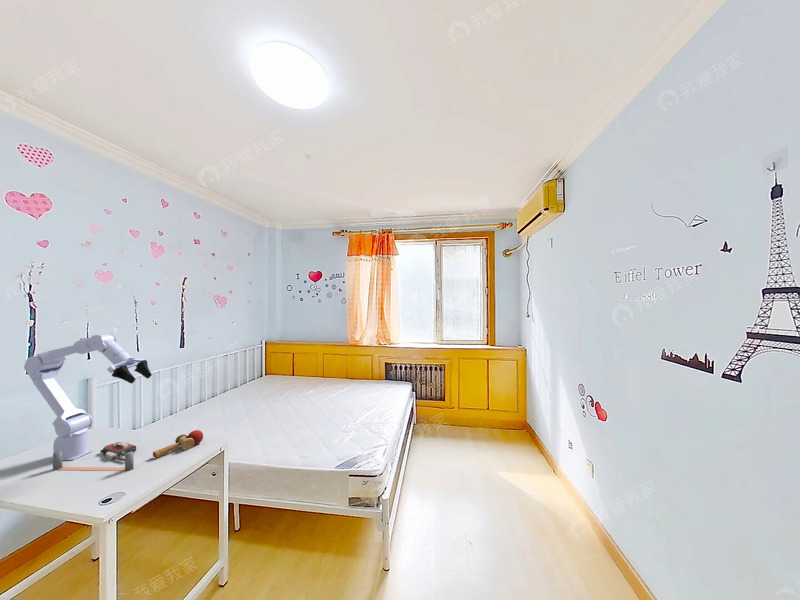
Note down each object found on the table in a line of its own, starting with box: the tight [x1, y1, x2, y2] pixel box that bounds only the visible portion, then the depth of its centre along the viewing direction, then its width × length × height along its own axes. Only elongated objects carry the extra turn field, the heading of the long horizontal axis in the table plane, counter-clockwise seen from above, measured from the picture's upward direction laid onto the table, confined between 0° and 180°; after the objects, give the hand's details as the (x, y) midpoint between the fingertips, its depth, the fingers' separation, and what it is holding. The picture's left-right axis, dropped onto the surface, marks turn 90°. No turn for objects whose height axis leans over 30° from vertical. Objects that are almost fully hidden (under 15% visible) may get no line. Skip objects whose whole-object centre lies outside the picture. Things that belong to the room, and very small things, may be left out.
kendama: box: [152, 429, 204, 459], centre depth 130 cm, size 8×6×18 cm
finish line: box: [52, 451, 135, 472], centre depth 115 cm, size 30×2×6 cm, turn 87°
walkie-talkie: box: [99, 441, 137, 462], centre depth 126 cm, size 9×4×20 cm
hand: (141, 379), depth 126 cm, fingers open, 7 cm apart
